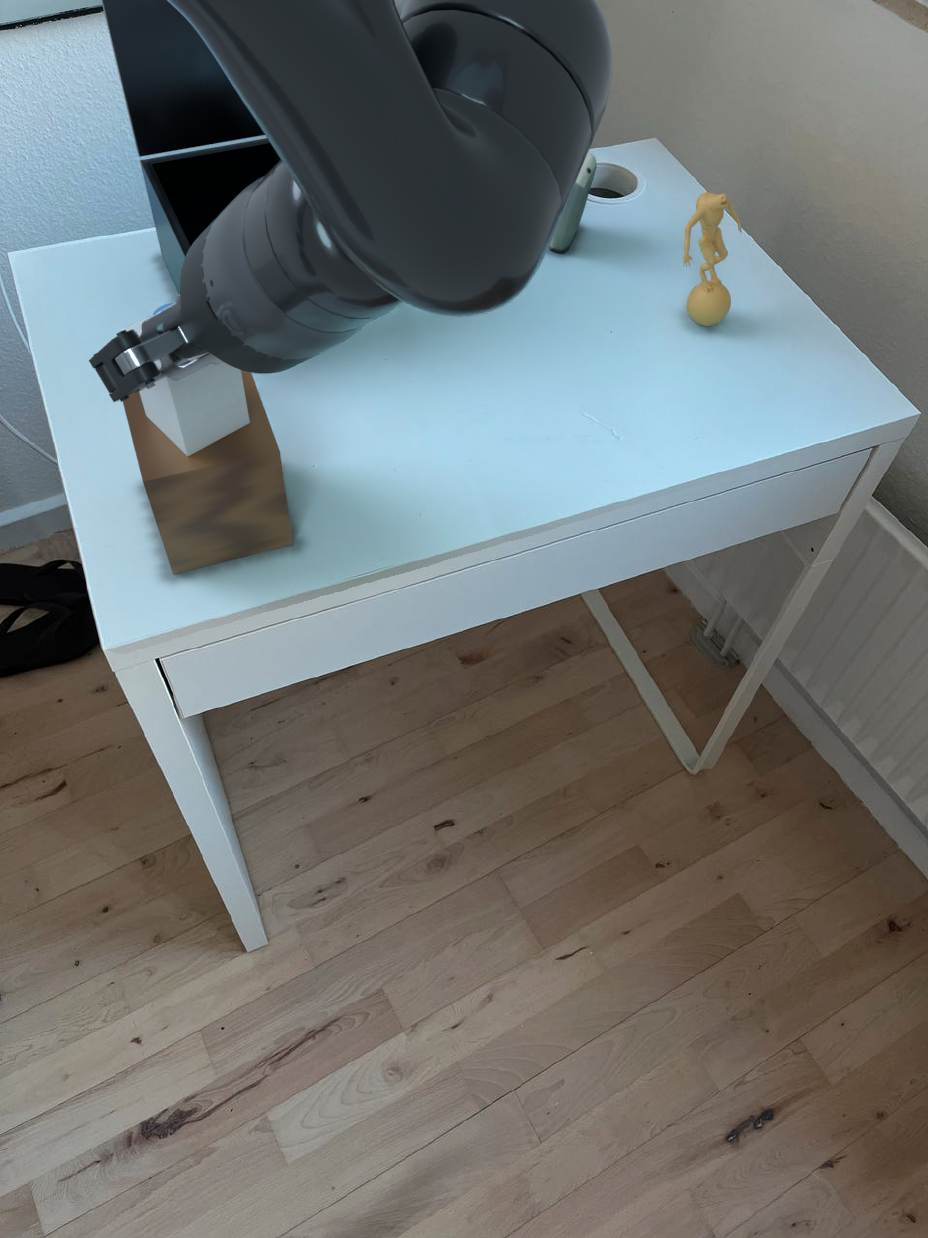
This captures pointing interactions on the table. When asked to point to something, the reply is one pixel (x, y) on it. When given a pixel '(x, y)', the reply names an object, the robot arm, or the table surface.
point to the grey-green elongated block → (574, 207)
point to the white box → (196, 403)
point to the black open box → (199, 191)
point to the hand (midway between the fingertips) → (190, 345)
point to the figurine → (709, 260)
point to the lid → (172, 80)
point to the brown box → (214, 489)
